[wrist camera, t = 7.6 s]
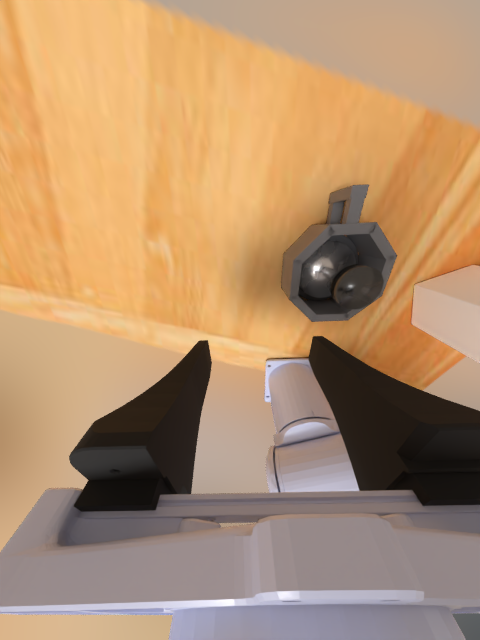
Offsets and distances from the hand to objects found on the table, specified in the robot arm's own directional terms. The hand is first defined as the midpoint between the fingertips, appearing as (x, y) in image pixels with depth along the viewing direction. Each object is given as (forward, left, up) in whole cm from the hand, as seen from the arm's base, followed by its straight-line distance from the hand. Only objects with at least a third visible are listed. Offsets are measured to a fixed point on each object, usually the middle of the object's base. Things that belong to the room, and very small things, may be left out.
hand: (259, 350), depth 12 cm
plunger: (+3, -8, -10) cm, 13 cm away
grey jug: (+4, -8, -10) cm, 14 cm away
